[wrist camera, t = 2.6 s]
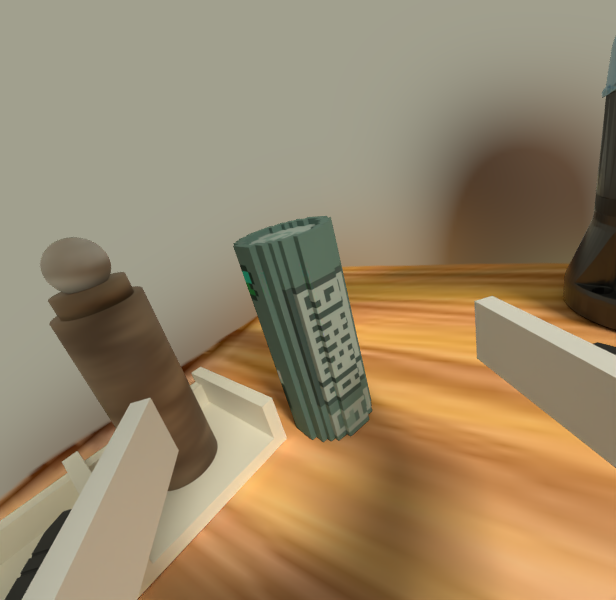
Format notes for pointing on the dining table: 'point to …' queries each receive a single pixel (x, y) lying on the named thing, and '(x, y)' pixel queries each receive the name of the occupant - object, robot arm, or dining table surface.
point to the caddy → (178, 503)
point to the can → (308, 324)
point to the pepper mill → (124, 349)
